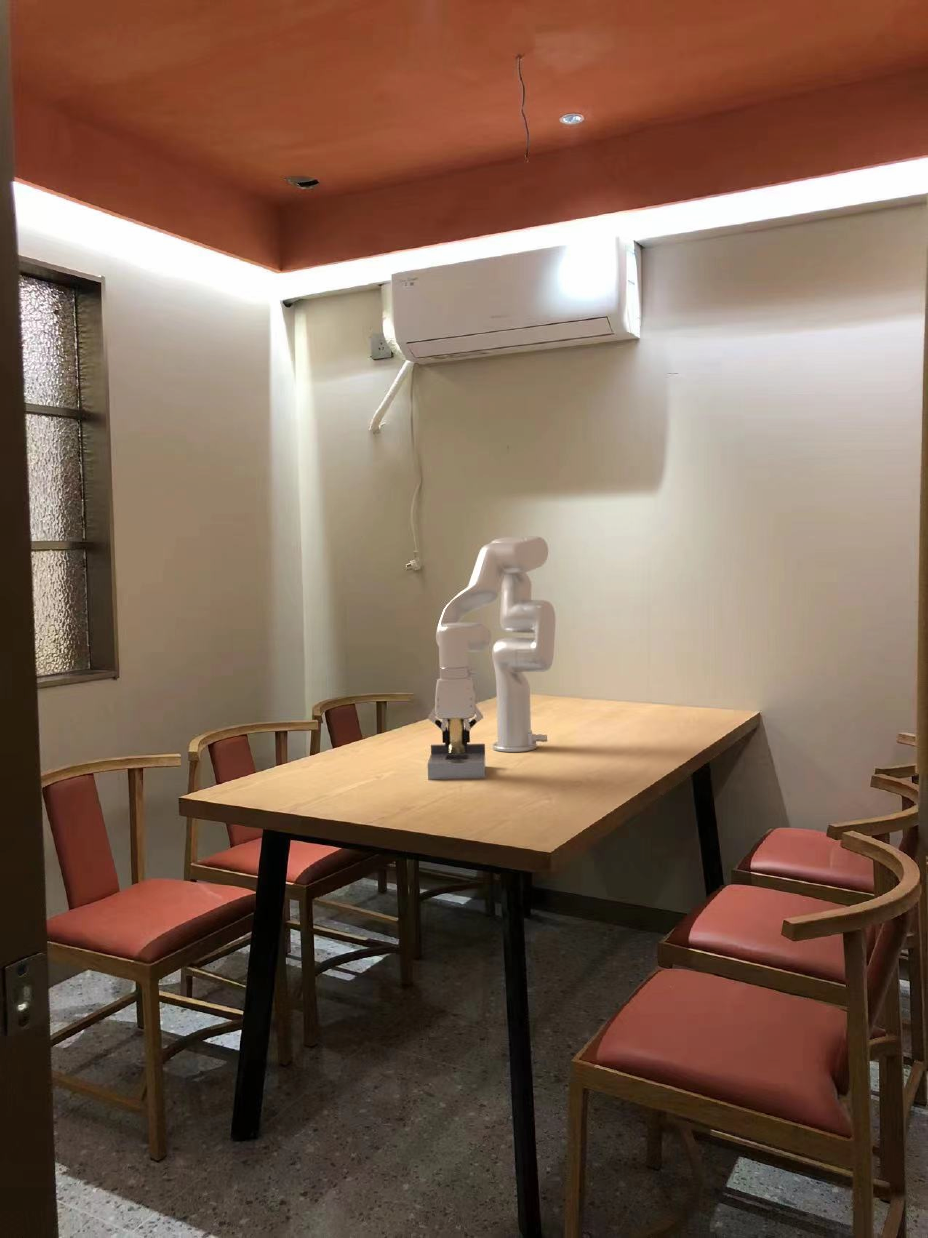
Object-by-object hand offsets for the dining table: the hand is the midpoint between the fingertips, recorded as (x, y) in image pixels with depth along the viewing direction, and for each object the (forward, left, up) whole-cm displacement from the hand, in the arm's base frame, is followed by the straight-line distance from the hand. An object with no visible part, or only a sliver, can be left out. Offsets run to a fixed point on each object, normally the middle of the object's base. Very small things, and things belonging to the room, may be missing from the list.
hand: (456, 744), depth 247 cm
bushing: (0, 0, -2) cm, 2 cm away
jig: (0, 0, -7) cm, 7 cm away
